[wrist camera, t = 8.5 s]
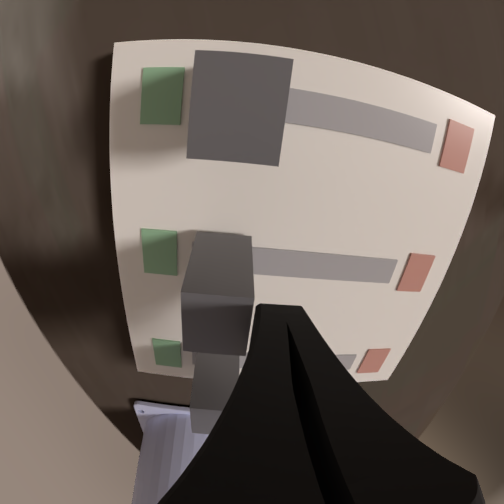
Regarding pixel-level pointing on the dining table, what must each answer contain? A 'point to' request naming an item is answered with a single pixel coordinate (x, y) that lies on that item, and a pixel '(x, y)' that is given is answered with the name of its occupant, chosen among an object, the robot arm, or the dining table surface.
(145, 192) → the breaker board
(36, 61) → the dining table surface
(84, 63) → the dining table surface
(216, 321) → the block
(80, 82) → the dining table surface
